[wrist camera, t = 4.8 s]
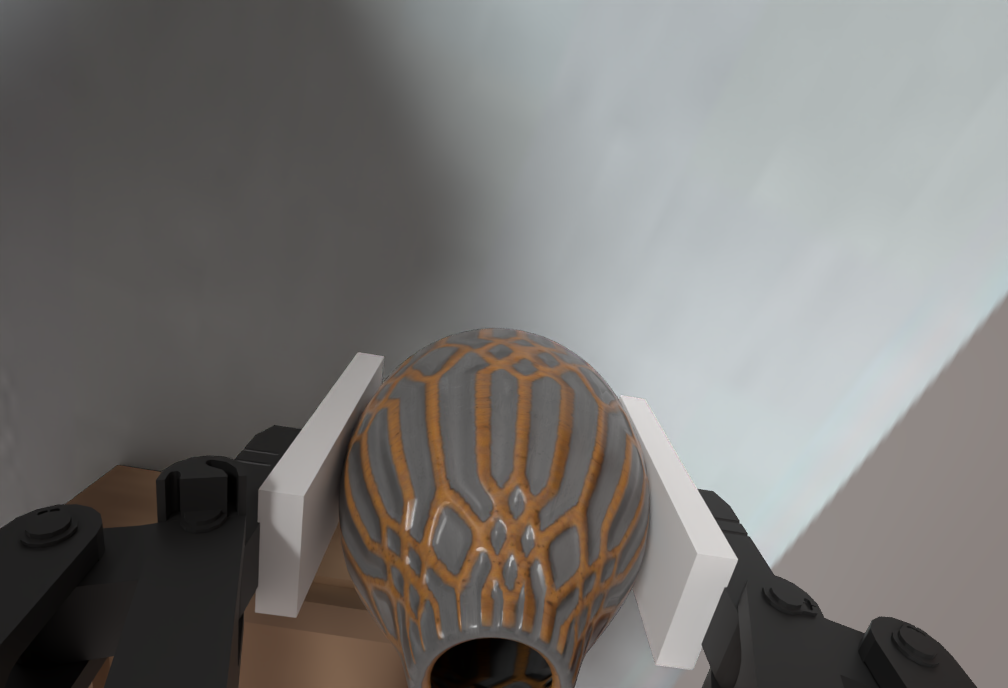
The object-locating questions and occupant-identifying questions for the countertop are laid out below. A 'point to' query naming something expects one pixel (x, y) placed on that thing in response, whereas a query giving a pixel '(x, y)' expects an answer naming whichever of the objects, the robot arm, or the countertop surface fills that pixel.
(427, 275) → the countertop surface
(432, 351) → the vase
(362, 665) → the brown wooden flat box
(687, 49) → the countertop surface
